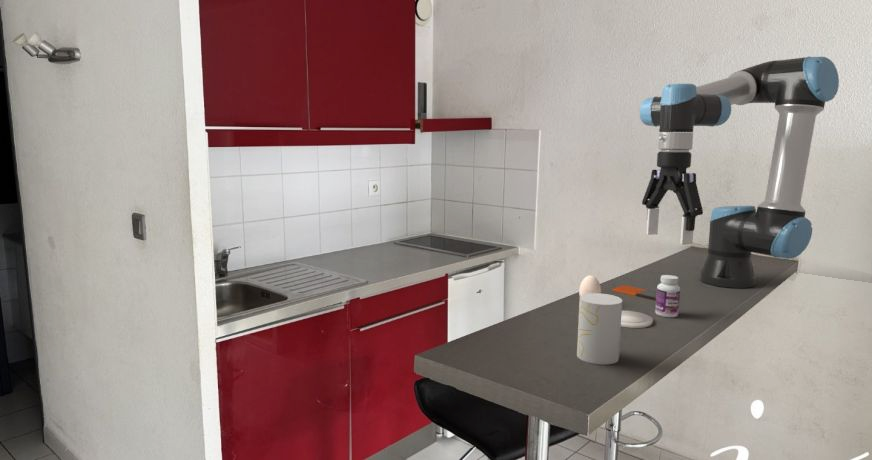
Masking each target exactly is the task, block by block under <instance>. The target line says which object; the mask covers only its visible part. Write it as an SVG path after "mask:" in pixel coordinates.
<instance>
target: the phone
mask: <svg viewBox="0 0 872 460" xmlns="http://www.w3.org/2000/svg"><path fill="white" fill-rule="evenodd" d="M615 291H616V293H619V292H620V293H621V294H623V293H624V295H629V296H632V295H633V297H636V296H637V298H642V299H645V300H649V301H654V302H656V295H657V291H652V290H648V289H644V288H643V289H642V288H639V287H635V286H630V285H621V286H618V287H614V288H613V289H612V292H615ZM620 293H619V294H620Z"/></svg>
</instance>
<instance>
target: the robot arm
mask: <svg viewBox="0 0 872 460" xmlns="http://www.w3.org/2000/svg"><path fill="white" fill-rule="evenodd" d="M839 79H840V78H839V73H838V68H837V67H836V65H835V64H834V62H833V61H832V60H831V59H830V58H828V57H826V56H806V57H805V56H804V57H799V58H790V59H789V58H788V59H778V60H770V61H769V60H768V61H766V62H763V63H762V62H761V63H759V64H755V65H752V66H749V67H747V68H744V69H741V70H737V71H734V72H733V73H731V74H730V75H729V76H728V77H725V78H722V79H719V80H714V81H712V82H709V83H705V84H701V85H699V86H696V85H695V84H693V83H671V84H665V85H664V86H663V88H662V91H661V96H653V97H648V98H647V97H646V98H645V99H644V100H643V101H642V102H641V103H640V106H639V109H638V112H639V118H640V121H641V123H643V124H644V125H646V126H647V127H648V126H650V127H654V128H656V127H659V129H658V131H659V133H658V144H657V145H658V147H657V148H658V150H660V151H658V152H657V156H656V166H657V167H658V168H660V169H652V170H651V175H650V180H649V182H648V185H647V188H646V191H645V192H644V195H643V199H642V201H641V204H642V206H643V205H644V206H645V207H646V209H647V213H646V235H658V233H659V230H658V229H659V215H660V206H659V205H660V204H661V202H662V201H663V200H662V199H663V198H664V196H665V195H666V194H667V192H668V191H672V192H673V193H674V194H675V195H676V197H677V200H678V202H679V204H680V207H681V210H682V211H683V215H682V216H681V227H680V237H679V238H680V240H679V241H680V242H679V245H693V237H694V231H695V227H696V226H695V225H696V218H697V217H698V216H702V215H703V213H704V210H703V206H702V202H701V198H700V193H699V189H698V185H697V173H696V172H687V169H690V167H691V166H692V152H691V151H690V150H692V149H693V141H694V140H693V139H694V127H712V128H713V127H718V126H721V125H723V124H726V122H727V121H728V120H729V118H730V116H731V114H732V106H733V105H737V106H744V105H747V104H774V109H775V111H777V112H778V114H779V115H778V121H777V127H776V133H775V139H774V144H773V150H772V151H773V152H772V156H771V160H770V161H771V162H770V168H769V175H768V179H767V185H766V190H765V191H766V192H765V199H764V200H763V201H762V202H760V203H759V204H757V207H756V206H755V205H732V206H728V205H727V206H726V205H725V206H717V207H714V208H713V209H712V210H711V216H710V220H709V236H708V245H707V248H708V249H707V256H706V258H705V261H704V263H703V265H702V268H701V270H700V271H699V281H701V282H703V283H705V284H707V285H712V286H717V287H721V288H722V287H723V288H732V289H743V288H744V289H745V288H747V289H748V288H752V287H755V285H756V275H755V271H754V268H753V267H754V266H753V263H752V259H751V258H752V253H754V254H759V255H760V254H761V255H765V256H769V257H773V258H781V259H782V258H783V259H794V258H796V257H799V256H800V255H801V254H802V253H803V252H804V251H805V250H806V249H807V247H808V246H809V243H810V242H811V239H812V235H813V227H812V221H810V219H808V218H807V217H806V210H805V208H803V206H802V204H801V203H802V202H801V201H802V197H803V191H804V186H805V179H806V175H807V168H808V163H809V158H810V152H811V147H812V146H811V145H812V142H813V141H812V139H813V136H814V129H815V123H816V118H817V115H819V114H820V113H821V112H823V111H824V110H825V105H826V103H827V102H830V101H832V100H833V99H834V98H835V97H836V95H837V93H838V91H839V86H840V80H839ZM756 208H757V209H756Z"/></svg>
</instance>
